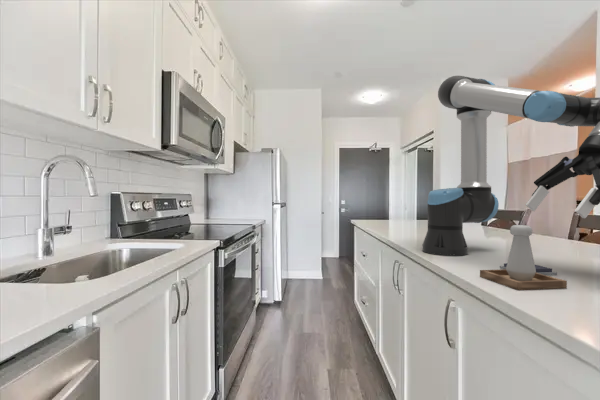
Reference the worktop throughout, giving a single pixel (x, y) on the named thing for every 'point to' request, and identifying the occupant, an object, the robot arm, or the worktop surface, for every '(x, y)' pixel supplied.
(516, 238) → the salt shaker
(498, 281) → the tray
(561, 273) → the worktop surface
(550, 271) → the ink pad
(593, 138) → the robot arm
